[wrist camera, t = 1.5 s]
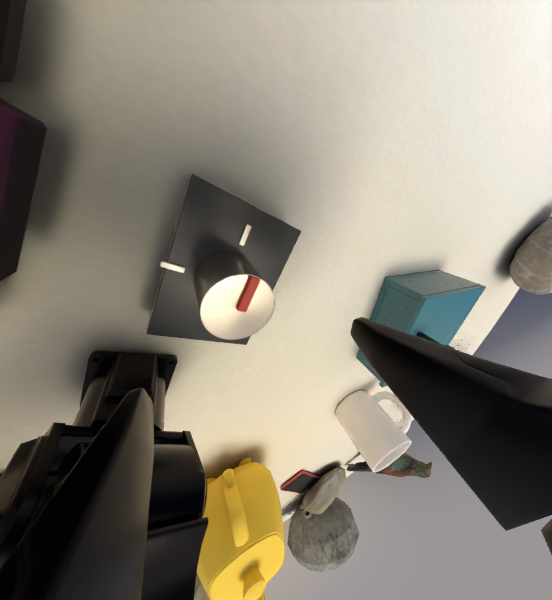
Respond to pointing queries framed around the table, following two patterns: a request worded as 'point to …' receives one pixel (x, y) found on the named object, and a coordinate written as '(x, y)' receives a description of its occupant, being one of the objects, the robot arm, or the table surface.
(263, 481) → the teapot
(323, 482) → the stone
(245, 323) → the dial
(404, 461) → the bird figurine
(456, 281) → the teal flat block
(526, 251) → the decorative stone
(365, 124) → the table surface
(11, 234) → the toy car
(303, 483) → the smartphone
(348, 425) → the mug
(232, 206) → the thermostat
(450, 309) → the lid
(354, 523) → the decorative stone
